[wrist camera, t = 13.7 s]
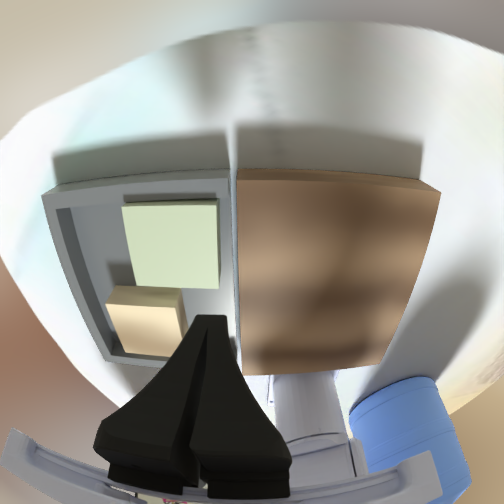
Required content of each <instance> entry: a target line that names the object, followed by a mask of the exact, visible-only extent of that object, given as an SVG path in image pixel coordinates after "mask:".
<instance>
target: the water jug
mask: <svg viewBox="0 0 504 504" xmlns="http://www.w3.org/2000/svg"><path fill="white" fill-rule="evenodd" d="M349 425H350V429H351V431H352V433H353V437H355V438H356V439H359V440H361V442H362V446H363V450H364V454H365V458H366V462H367V467H368V471H369V474H370V473H374V472H377V471H381V470H384V469H387V468H391V467H394V466H397V464H399V463H400V462H401V461H403V460H405V459H407V458H410V457H413V456H415V455H418V454H420V453H423V452H425V451H428V450H429V451H431V454H432V458H433V461H434V464H435V467H436V470H437V474H438V477H439V481H440V484H441V488H442V492H443V495H442V496H440V497H438V498H436V499H434V500H432V501H430V502H428V503H426V504H453V503H454V502H455V501H456V500H457V499H458V498H459V497H460V496H461V495H462V494H463V492H464V491H465V490H466V489H467V488H468V487H469V486H470V484H471V482H472V481H471V477H470V470H469V467H468V464H467V462H466V461H465V458H464V455H463V452H462V449H461V447H460V444H459V441H458V439H457V436H456V433H455V428H454V425H453V423H452V421H451V419H450V418H449V416H448V413H447V411H446V409H445V406H444V404H443V402H442V400H441V397H440V395H439V393H438V388H437V386H436V384H435V382H434V381H433V380H432V379H431V378H428V377H413V378H409V379H405V380H402V381H399V382H397V383H394V384H392V385H389V386H387V387H385V388H383V389H381V390H379V391H377V392H376V393H374V394H372V395H371V396H369V397H368V398H366V399H365V400H363V401H362V402H361V403H360V404H359V405H358V406H356V408H355V409H354V410H353V411H352V413H351V414H350V417H349Z"/></svg>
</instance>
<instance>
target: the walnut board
mask: <svg viewBox="0 0 504 504" xmlns="http://www.w3.org/2000/svg"><path fill="white" fill-rule="evenodd" d="M440 196H441V192H439V191H438V190H436V189H434V188H433V187H431V186H429V185H428V184H426V183H424V182H422V181H421V180H417V179H410V178H402V177H394V176H385V175H375V174H365V173H353V172H340V171H324V170H303V169H238V172H237V231H238V269H239V302H240V330H241V356H242V375H280V374H297V373H310V372H321V371H331V370H339V369H347V368H355V367H362V366H368V365H375V364H380V362H381V360H382V358H383V356H384V354H385V352H386V350H387V348H388V346H389V344H390V342H391V340H392V337H393V335H394V333H395V331H396V329H397V327H398V324H399V322H400V320H401V318H402V315H403V313H404V311H405V308H406V306H407V303H408V301H409V298H410V296H411V293H412V290H413V288H414V285H415V282H416V280H417V277H418V274H419V271H420V268H421V265H422V262H423V259H424V256H425V253H426V250H427V246H428V243H429V240H430V236H431V233H432V229H433V225H434V221H435V218H436V214H437V209H438V205H439V201H440Z"/></svg>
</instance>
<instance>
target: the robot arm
mask: <svg viewBox="0 0 504 504" xmlns="http://www.w3.org/2000/svg"><path fill="white" fill-rule="evenodd" d="M339 371H340V369H339V370H331V371H321V372H310V373H297V374H280V375H270V382H269V392H268V402H267V405H268V406H269V407H275V418H276V427H275V426H274V425H273V424H272V422H271V421H270V420H269V419H268V417H267V416H266V414H265V413H264V412H263V410H262V409H261V407H260V406H259V404H258V402H257V401H256V399H255V398H254V396H253V394H252V393H251V391H250V389H249V387H248V385H247V383H246V381H245V379H244V377H243V375H242V373H241V371H240V369H239V366H238V364H237V361H236V359H235V356H234V353H233V350H232V346H231V343H230V339H229V332H228V321H227V316H226V315H210V314H197V315H196V316H195V318H194V320H193V322H192V324H191V325H190V327H189V329H188V331H187V333H186V334H185V336H184V338H183V339H182V341H181V342H180V344H179V345H178V347H177V348H176V350H175V351H174V353H173V354H172V356H171V357H170V358H169V360H168V361H167V362H166V364H165V365H164V366H163V367H162V369H161V370H160V371H159V372H158V373H157V375H156V376H155V377H154V378H153V379H152V380H151V381H150V382H149V383H148V384H147V385H146V386H145V387H144V388H143V389H142V390H141V391H140V392H139V393H138V394H137V395H136V396H135V397H133V398H132V399H131V400H130V401H129V402H127V403H126V404H125V405H124V406H122V407H121V408H120V409H118V410H117V411H116V412H114V413H113V414H111V415H110V416H108V417H107V418H105V419H104V420H102V422H101V424H100V426H99V428H98V431H97V434H96V438H95V441H94V445H93V448H94V450H95V452H96V453H97V454H99V455H100V456H101V457H103V458H104V459H105V460H107V461H108V462H110V467H109V471H107V470H104V469H100V468H97V467H94V466H91V465H88V464H85V463H83V462H80V461H77V460H74V459H72V458H69V457H67V456H64V455H62V454H60V453H57V452H55V451H53V450H50V449H48V448H46V447H44V446H42V445H40V444H38V443H36V441H34V440H33V439H32V438H30V437H29V436H27V435H25V434H24V433H22V432H20V431H18V430H17V429H15V428H13V427H12V428H11V430H10V433H9V435H8V438H7V441H6V444H5V447H4V450H3V453H2V456H1V459H0V465H1V466H3V467H4V468H5V469H7V470H8V471H10V472H11V473H13V474H14V475H16V476H17V477H19V478H20V479H22V480H23V481H25V482H26V483H28V484H29V485H31V486H33V487H34V488H36V489H37V490H39V491H41V492H42V493H44V494H46V495H48V496H49V497H51V498H53V499H55V500H57V501H59V502H61V503H62V504H147V501H145V500H142V499H139V498H136V497H134V496H132V495H130V494H128V493H125V492H122V491H119V490H116V489H113V488H111V487H110V486H113V487H116V488H120V489H124V490H127V491H131V492H135V493H139V494H144V495H148V496H153V497H158V498H164V499H170V500H176V501H184V502H192V503H202V504H426V503H428V502H430V501H432V500H434V499H436V498H438V497H440V496H442V495H443V492H442V488H441V484H440V481H439V477H438V474H437V470H436V467H435V464H434V461H433V458H432V454H431V451H429V450H428V451H425V452H423V453H420V454H418V455H415V456H413V457H410V458H407V459H405V460H403V461H401V462H400V463H399V464H397V466H394V467H391V468H387V469H384V470H381V471H377V472H374V473H370V474H369V471H368V467H367V462H366V458H365V454H364V450H363V446H362V442H361V440H359V439H356V438H355V437H354V438H352V439H350V440H349V438H348V435H347V433H346V428H345V424H344V419H343V415H342V411H341V407H340V403H339V399H338V395H337V391H336V387H335V380H336V378H337V376H338V373H339ZM206 483H207V484H208V488H207V489H204V488H203V487H204V486H205V485H206Z"/></svg>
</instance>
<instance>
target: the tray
mask: <svg viewBox="0 0 504 504" xmlns="http://www.w3.org/2000/svg"><path fill="white" fill-rule="evenodd" d="M41 197H42V201H43V205H44V209H45V213H46V217H47V221H48V225H49V228H50V232H51V235H52V238H53V242H54V245H55V248H56V251H57V254H58V257H59V260H60V263H61V266H62V268H63V271H64V274H65V276H66V279H67V282H68V284H69V287H70V289H71V292H72V294H73V296H74V299H75V301H76V303H77V306H78V308H79V310H80V312H81V315H82V317H83V319H84V321H85V323H86V325H87V327H88V329H89V331H90V333H91V335H92V337H93V339H94V341H95V343H96V345H97V347H98V349H99V351H100V352H101V354H102V356H103V358H104V360H105V361H108V362H115V363H122V364H129V365H137V366H146V367H156V368H162V367H163V366H164V365H165V364H166V362H167V361H168V360H169V358H170V357H167V356H155V355H145V354H135V353H127V352H125V350H124V348H123V346H122V343H121V341H120V339H119V337H118V334H117V332H116V330H115V327H114V325H113V322H112V320H111V317H110V315H109V312H108V310H107V307H106V305H105V303H106V301H107V300H108V298H109V296H110V294H111V293H112V291H113V289H114V287H115V286H116V285H121V286H137V284H136V280H135V276H134V271H133V267H132V262H131V258H130V253H129V248H128V243H127V237H126V232H125V226H124V220H123V214H122V208H121V207H122V206H123V205H124V204H125V203H126V202H137V201H153V200H172V199H196V198H220V234H221V276H220V284H219V289H203V288H181V290H182V296H183V302H184V307H185V313H186V318H187V323H188V328H189V327H190V325H191V324H192V322H193V320H194V318H195V316H196V315H197V314H210V315H226V316H227V321H228V332H229V339H230V343H231V346H232V350H233V353H234V356H235V359H236V361H237V335H236V316H235V294H234V271H233V245H232V214H231V176H230V169H206V170H185V171H170V172H156V173H145V174H134V175H125V176H116V177H108V178H100V179H92V180H85V181H79V182H72V183H66V184H60V185H58V186H56V187H54V188H53V189H51V190H49V191H48V192H46V193H44V194H43V195H41ZM147 287H153V286H147Z"/></svg>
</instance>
